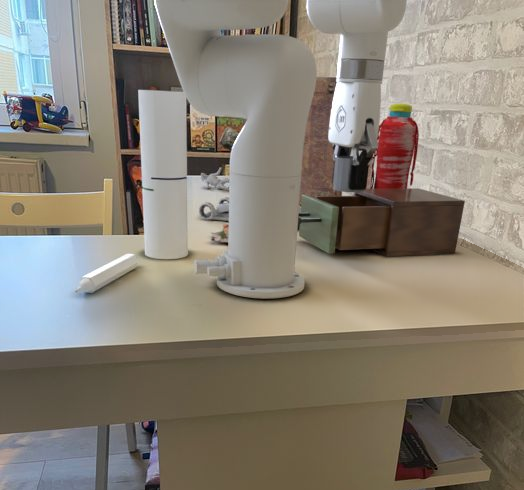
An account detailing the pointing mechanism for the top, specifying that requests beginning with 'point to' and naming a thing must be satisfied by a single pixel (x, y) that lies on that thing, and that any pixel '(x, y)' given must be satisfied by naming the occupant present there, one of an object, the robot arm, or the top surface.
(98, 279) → the marker
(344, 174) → the tin
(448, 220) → the cabinet
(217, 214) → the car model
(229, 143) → the plant with pod
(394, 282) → the top surface
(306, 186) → the book
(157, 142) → the cylindrical container
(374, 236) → the drawer
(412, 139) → the water bottle
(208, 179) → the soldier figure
